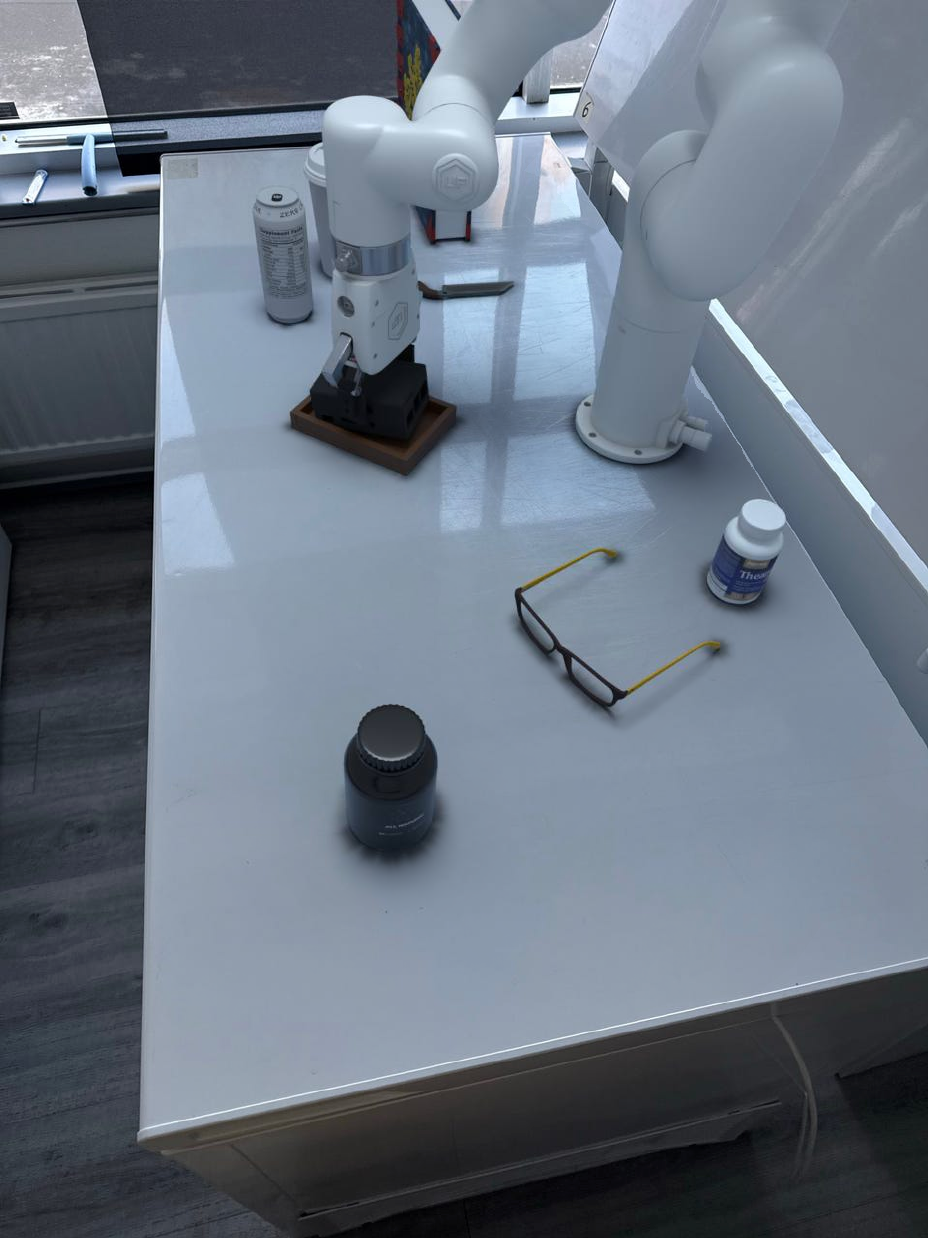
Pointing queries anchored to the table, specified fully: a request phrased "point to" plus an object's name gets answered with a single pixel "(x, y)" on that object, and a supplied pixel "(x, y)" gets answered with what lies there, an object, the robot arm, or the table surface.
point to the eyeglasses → (568, 654)
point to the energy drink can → (283, 253)
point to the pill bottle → (747, 552)
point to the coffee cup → (320, 203)
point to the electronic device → (379, 399)
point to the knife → (465, 289)
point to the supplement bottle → (390, 778)
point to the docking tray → (377, 447)
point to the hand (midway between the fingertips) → (378, 395)
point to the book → (419, 45)
